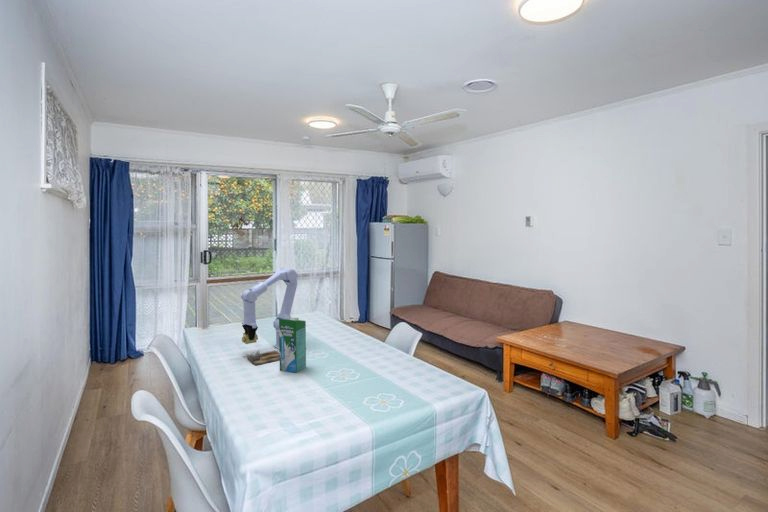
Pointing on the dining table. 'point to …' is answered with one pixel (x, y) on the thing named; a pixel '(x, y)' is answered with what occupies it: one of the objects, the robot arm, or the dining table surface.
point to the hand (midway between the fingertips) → (250, 338)
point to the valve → (246, 338)
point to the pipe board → (264, 357)
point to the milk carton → (292, 344)
